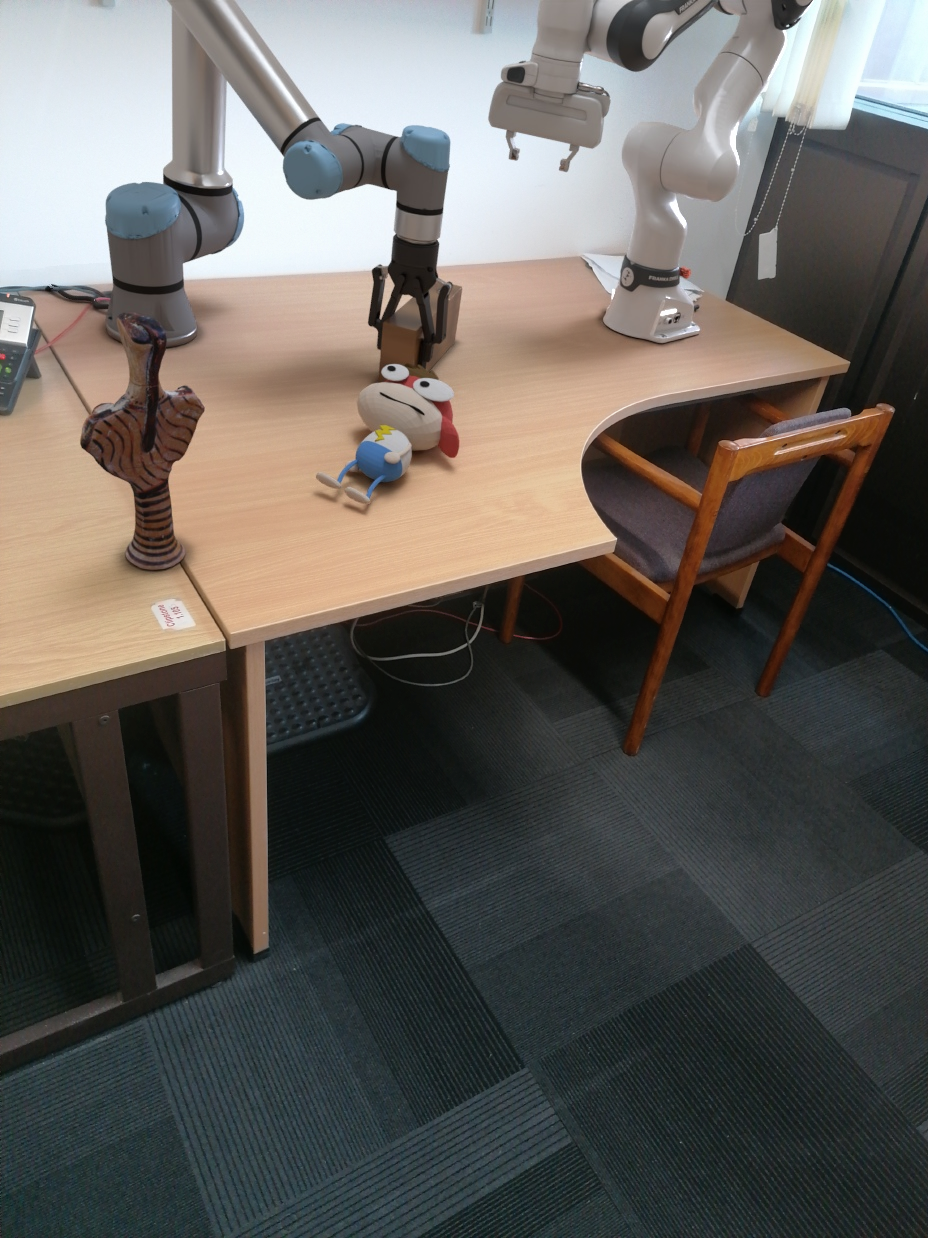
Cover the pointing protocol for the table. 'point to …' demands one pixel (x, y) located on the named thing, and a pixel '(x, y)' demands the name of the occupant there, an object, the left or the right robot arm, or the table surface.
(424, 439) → the toy
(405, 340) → the box
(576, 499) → the table surface
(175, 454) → the figurine
